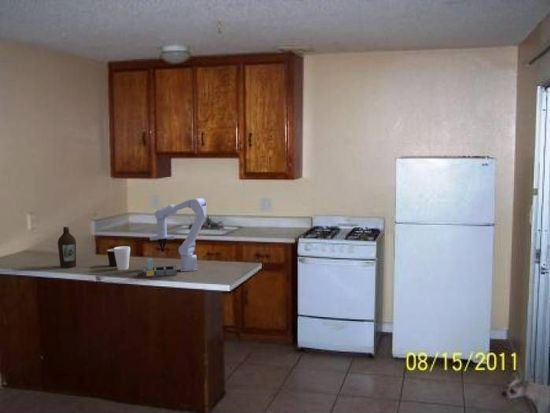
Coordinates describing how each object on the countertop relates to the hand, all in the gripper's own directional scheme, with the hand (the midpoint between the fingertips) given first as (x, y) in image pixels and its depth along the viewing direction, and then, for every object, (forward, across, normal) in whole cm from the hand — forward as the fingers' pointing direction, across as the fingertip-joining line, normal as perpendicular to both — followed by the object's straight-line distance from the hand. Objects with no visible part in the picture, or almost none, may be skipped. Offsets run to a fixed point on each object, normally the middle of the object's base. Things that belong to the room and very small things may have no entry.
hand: (162, 251), depth 346 cm
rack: (+10, +2, +14) cm, 18 cm away
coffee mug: (+11, +28, -17) cm, 34 cm away
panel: (+10, +8, +14) cm, 19 cm away
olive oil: (+11, +58, -22) cm, 63 cm away
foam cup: (+11, +24, -6) cm, 27 cm away
